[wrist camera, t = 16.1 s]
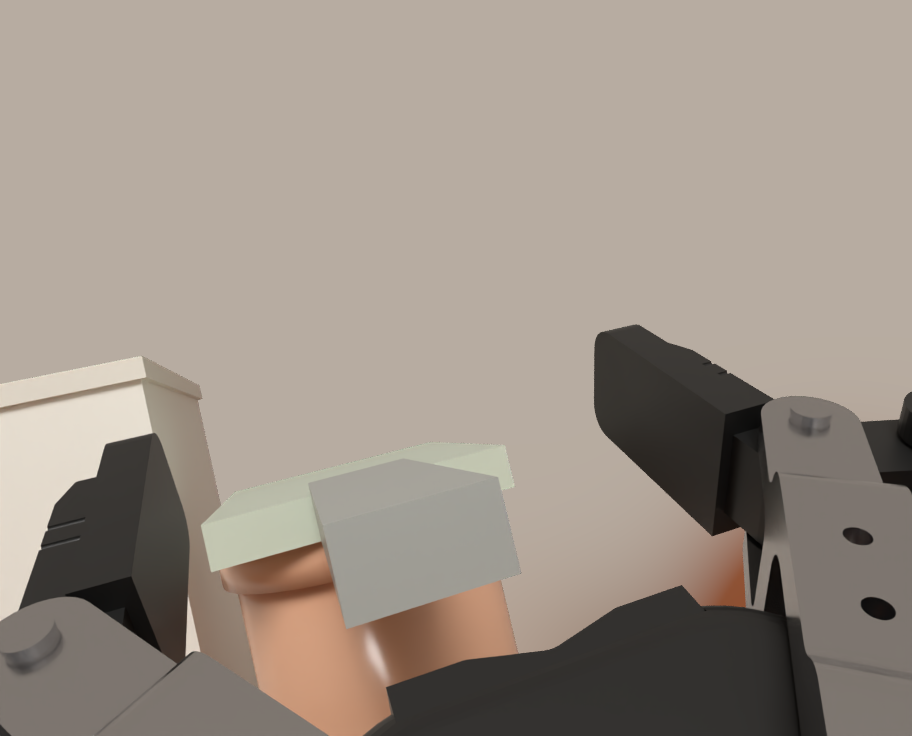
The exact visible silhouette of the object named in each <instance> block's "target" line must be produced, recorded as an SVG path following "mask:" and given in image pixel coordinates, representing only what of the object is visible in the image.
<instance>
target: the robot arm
mask: <svg viewBox="0 0 912 736" xmlns="http://www.w3.org/2000/svg"><path fill="white" fill-rule="evenodd" d="M594 357H595V358H594V360H595V361H594V370H595V371H594V408H595V413H596V417H597V420H598V423H599V426H600V428H601V429H602V431H603V432H604V434H605V435H606V436H607V437H608V438H609V439H610V440H611V441H612V442H613V443H614V444H616V445H617V446H618V447H619V448H620V449H621V450H622V451H623V452H624V453H625V454H626V455H627V456H628V457H629V458H630V459H631V460H632V461H633V462H635V463H636V464H637V465H638V466H639V467H640V468H641V469H642V470H643V471H644V472H645V473H646V474H647V475H648V476H649V477H650V478H651V479H652V480H653V481H655V482H656V483H657V484H658V485H659V486H660V487H661V488H662V489H663V490H664V491H665V492H666V493H667V494H668V495H669V496H671V498H672V499H673V500H675V501H676V502H677V503H678V504H679V505H680V506H681V507H682V508H683V509H684V510H685V511H686V512H687V513H688V514H689V515H690V516H691V517H693V518H694V519H695V520H696V521H697V522H698V523H699V524H700V525H701V526H702V527H703V528H704V529H705V530H706V531H707V532H708V533H709V534H710V535H711V536H714V535H717V534H720V533H724V532H726V531H730V530H733V529H735V528H739V527H741V528H742V529H744V530H745V535H744V542H743V562H744V578H745V595H746V608H745V607H734V606H700V605H699V604H698V603H697V602H696V600H695V599H694V598H693V597H692V596H691V595H690V594H689V593H688V592H687V590H686V589H685V588H684V587H683V586H682V585H681V586H678V587H675V588H672V589H669V590H666V591H663V592H661V593H658V594H655V595H652V596H649V597H646V598H643V599H640V600H637V601H634V602H632V603H629V604H626V605H623V606H620V607H617V608H615V609H613V610H612V611H610V612H609V613H607V614H606V615H604V616H603V617H601V618H600V619H598V620H597V621H595V622H594V623H592V624H591V625H589V626H588V627H586V628H585V629H583V630H582V631H580V632H579V633H577V634H576V635H574V636H573V637H571V638H570V639H568V640H566V641H565V642H563V643H562V644H560V645H559V646H557V647H555V648H553V649H550V650H545V651H538V652H529V653H521V654H512V655H503V656H494V657H485V658H476V659H468V660H463V661H460V662H457V663H455V664H452V665H449V666H446V667H443V668H440V669H437V670H434V671H431V672H428V673H426V674H423V675H420V676H417V677H414V678H411V679H408V680H405V681H402V682H399V683H397V684H394V685H391V686H388V687H386V691H387V696H388V701H389V706H390V711H391V715H390V716H388V717H387V718H385V719H384V720H382V721H381V722H379V723H378V724H376V725H375V726H374V727H373V728H371V729H370V730H369V731H368V732H367V733H365V734H364V735H363V736H912V392H910V393H909V394H907V395H906V397H905V399H904V403H903V407H902V411H901V415H900V419H899V420H884V421H868V422H860V420H859V418H858V417H857V416H856V415H855V414H854V413H853V412H851V411H850V410H849V409H847V408H845V407H843V406H841V405H839V404H836V403H834V402H831V401H827V400H823V399H819V398H813V397H805V396H789V397H781V398H777V399H773V398H771V397H769V396H767V395H766V394H764V393H763V392H761V391H759V390H758V389H756V388H754V387H753V386H751V385H749V384H748V383H746V382H744V381H743V380H741V379H739V378H738V377H736V376H734V375H733V374H731V373H729V374H727V371H726V370H725V369H723V368H721V367H719V366H718V365H716V364H712V363H711V361H710V360H708V359H706V358H705V357H703V356H701V355H700V354H698V353H696V352H695V351H693V350H690V349H687V348H684V347H680V346H677V345H673V344H670V343H667V342H666V341H664V340H663V339H661V338H659V337H658V336H656V335H654V334H653V333H651V332H650V331H648V330H646V329H644V328H643V327H641V326H640V325H631V326H627V327H622V328H618V329H613V330H609V331H605V332H601V333H600V334H598V336H597V337H596V341H595V353H594ZM47 528H48V531H45V534H44V537H43V540H42V543H41V550H39V552H38V554H37V557H36V560H35V563H34V566H33V569H32V572H31V575H30V578H29V581H28V583H27V586H26V589H25V592H24V595H23V598H22V601H21V604H20V607H19V610H18V611H16V612H14V613H13V614H11V615H9V616H8V617H6V618H4V619H3V620H1V621H0V736H329V735H327V734H326V733H324V732H323V731H321V730H320V729H318V728H317V727H315V726H314V725H312V724H311V723H309V722H308V721H306V720H305V719H303V718H302V717H300V716H299V715H297V714H296V713H294V712H293V711H291V710H290V709H288V708H287V707H285V706H284V705H282V704H281V703H279V702H278V701H276V700H275V699H273V698H272V697H270V696H269V695H267V694H266V693H264V692H262V691H261V690H259V689H258V688H256V687H255V686H253V685H252V684H250V683H249V682H247V681H246V680H244V679H243V678H241V677H240V676H238V675H237V674H235V673H234V672H232V671H231V670H229V669H228V668H226V667H225V666H223V665H222V664H220V663H219V662H217V661H216V660H214V659H213V658H211V657H209V656H208V655H206V654H204V653H201V652H198V651H192V652H191V653H189V654H188V655H187V656H186V632H187V606H188V579H189V553H190V541H189V532H188V526H187V521H186V517H185V513H184V510H183V506H182V503H181V500H180V497H179V494H178V491H177V488H176V486H175V483H174V480H173V477H172V474H171V471H170V468H169V465H168V462H167V459H166V456H165V453H164V450H163V447H162V444H161V442H160V439H159V437H158V436H157V434H156V433H151V434H147V435H142V436H138V437H134V438H129V439H125V440H120V441H116V442H111V443H107V444H106V445H105V447H104V450H103V454H102V458H101V461H100V465H99V469H98V472H97V476H96V477H94V478H90V479H85V480H81V481H77V482H75V483H74V484H73V485H72V486H71V487H70V489H69V490H68V491H67V492H66V493H65V494H64V495H63V496H62V497H61V498H60V499H59V500H58V501H57V502H56V504H55V505H54V508H53V511H52V514H51V517H50V520H49V522H48V525H47Z"/></svg>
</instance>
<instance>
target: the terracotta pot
mask: <svg viewBox="0 0 912 736" xmlns="http://www.w3.org/2000/svg"><path fill="white" fill-rule="evenodd" d="M219 572H220V577H221V581H222V586H223V588H224V590H225V591H227V592H229V593H234V594H238V597H239V602H240V606H241V611H242V615H243V620H244V624H245V629H246V633H247V638H248V642H249V647H250V651H251V656H252V660H253V665H254V669H255V674H256V678H257V683H258V688H259V690H261V691H262V692H264V693H266V694H267V695H269V696H270V697H272V698H273V699H275V700H276V701H278V702H279V703H281V704H282V705H284V706H285V707H287V708H288V709H290V710H291V711H293V712H294V713H296V714H297V715H299V716H300V717H302V718H303V719H305V720H306V721H308V722H309V723H311V724H312V725H314V726H315V727H317V728H318V729H320V730H321V731H323V732H324V733H326V734H327V735H329V736H363V735H364V734H365V733H367V732H368V731H369V730H370V729H371V728H373V727H374V726H375V725H376V724H378V723H379V722H381V721H382V720H384V719H385V718H387V717H388V716H390V715H391V711H390V706H389V701H388V696H387V691H386V687H388V686H391V685H394V684H397V683H399V682H402V681H405V680H408V679H411V678H414V677H417V676H420V675H423V674H426V673H428V672H431V671H434V670H437V669H440V668H443V667H446V666H449V665H452V664H455V663H457V662H460V661H463V660H468V659H476V658H485V657H494V656H503V655H512V654H518V650H517V646H516V641H515V637H514V633H513V629H512V625H511V621H510V616H509V612H508V608H507V604H506V600H505V596H504V592H503V587H502V583H501V580H499V581H496V582H493V583H490V584H487V585H484V586H481V587H477V588H474V589H471V590H468V591H465V592H462V593H459V594H455V595H452V596H449V597H446V598H443V599H440V600H437V601H433V602H430V603H427V604H424V605H421V606H418V607H415V608H411V609H408V610H405V611H402V612H399V613H396V614H393V615H390V616H386V617H383V618H380V619H377V620H374V621H371V622H368V623H364V624H361V625H358V626H355V627H352V628H349V629H346V626H345V623H344V619H343V616H342V612H341V609H340V605H339V602H338V598H337V595H336V591H335V587H334V584H333V580H332V577H331V573H330V570H329V566H328V563H327V559H326V556H325V552H324V549H323V545H322V542H317V543H314V544H310V545H306V546H303V547H299V548H296V549H292V550H289V551H285V552H282V553H278V554H275V555H271V556H267V557H264V558H260V559H257V560H253V561H250V562H246V563H243V564H239V565H236V566H232V567H229V568H225V569H221V570H219Z"/></svg>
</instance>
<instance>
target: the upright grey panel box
mask: <svg viewBox="0 0 912 736" xmlns="http://www.w3.org/2000/svg"><path fill="white" fill-rule="evenodd" d="M200 399H202V395H201V391H200V386H199V385H197V384H195V383H193V382H192V381H190V380H188V379H186V378H184V377H182V376H180V375H178V374H176V373H174V372H172V371H170V370H168V369H166V368H164V367H162V366H160V365H158V364H156V363H154V362H152V361H150V360H149V359H147V358H145V357H143V356H139V357H134V358H130V359H124V360H119V361H114V362H109V363H104V364H99V365H94V366H89V367H84V368H79V369H74V370H69V371H64V372H59V373H54V374H49V375H44V376H39V377H34V378H29V379H24V380H19V381H14V382H9V383H4V384H0V621H1V620H3V619H4V618H6V617H8V616H9V615H11V614H13V613H14V612H16V611H18V610H19V607H20V604H21V601H22V598H23V595H24V592H25V589H26V586H27V583H28V581H29V578H30V575H31V572H32V569H33V566H34V563H35V560H36V557H37V554H38V552H39V550H41V543H42V540H43V537H44V534H45V531H48V528H47V525H48V522H49V520H50V517H51V514H52V511H53V508H54V505H55V504H56V502H57V501H58V500H59V499H60V498H61V497H62V496H63V495H64V494H65V493H66V492H67V491H68V490H69V489H70V487H71V486H72V485H73V484H74V483H75V482H77V481H81V480H85V479H90V478H94V477H96V476H97V472H98V469H99V465H100V461H101V458H102V454H103V450H104V447H105V445H106V444H107V443H111V442H116V441H120V440H125V439H129V438H134V437H138V436H142V435H147V434H151V433H156V434H157V436H158V437H159V439H160V442H161V444H162V447H163V450H164V453H165V456H166V459H167V462H168V465H169V468H170V471H171V474H172V477H173V480H174V483H175V486H176V488H177V491H178V494H179V497H180V500H181V503H182V506H183V510H184V513H185V517H186V521H187V526H188V532H189V541H190V553H189V579H188V606H187V632H186V656H187V655H188V654H189V653H191V652H192V651H198V652H201V653H204V654H206V655H208V656H209V657H211V658H213V659H214V660H216V661H217V662H219V663H220V664H222V665H223V666H225V667H226V668H228V669H229V670H231V671H232V672H234V673H235V674H237V675H238V676H240V677H241V678H243V679H244V680H246V681H247V682H249V683H250V684H252V685H253V686H255V687H256V688H258V683H257V678H256V674H255V669H254V665H253V660H252V656H251V651H250V647H249V642H248V638H247V633H246V629H245V624H244V620H243V615H242V611H241V606H240V602H239V597H238V594H234V593H229V592H227V591H225V590H224V588H223V586H222V581H221V577H220V572H219V570H218V571H214V572H211V569H210V565H209V560H208V556H207V551H206V547H205V542H204V538H203V533H202V528H201V525H202V524H203V523H204V522H205V521H206V520H207V519H208V518H209V517H210V516H211V515H212V514H213V513H214V512H215V511H216V510H217V509H218V508H219V507H220V506H221V504H220V499H219V495H218V490H217V486H216V481H215V477H214V472H213V468H212V463H211V459H210V454H209V450H208V445H207V441H206V436H205V431H204V427H203V422H202V418H201V413H200V409H199V404H198V400H200ZM258 689H259V688H258Z"/></svg>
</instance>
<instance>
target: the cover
mask: <svg viewBox="0 0 912 736" xmlns="http://www.w3.org/2000/svg"><path fill="white" fill-rule="evenodd" d="M512 487H514V482H513V477H512V473H511V469H510V465H509V461H508V457H507V452H506V448H505V445H490V444H489V445H488V444H465V443H440V442H429V443H425V444H421V445H417V446H413V447H409V448H405V449H402V450H397V451H394V452H390V453H386V454H382V455H378V456H374V457H370V458H366V459H362V460H359V461H354V462H351V463H346V464H343V465H339V466H335V467H331V468H327V469H323V470H319V471H315V472H312V473H307V474H303V475H300V476H296V477H292V478H288V479H284V480H280V481H276V482H272V483H268V484H264V485H260V486H256V487H252V488H248V489H245V490H241V491H237V492H235V493H233V494H232V495H231V496H230V497H229V499H227V501H225V502H224V503H223V504H222V505H221V506H220V507H219V508H218V509H217V510H216V511H215V512H214V513H213V514H212V515H211V516H210V517H209V518H208V519H207V520H206V521H205V522H204V523H203V524H202V525H201V528H202V533H203V538H204V542H205V547H206V551H207V556H208V560H209V565H210V569H211V572H214V571H218V570H221V569H225V568H229V567H232V566H236V565H239V564H243V563H246V562H250V561H253V560H257V559H260V558H264V557H267V556H271V555H275V554H278V553H282V552H285V551H289V550H292V549H296V548H299V547H303V546H306V545H310V544H314V543H317V542H322V545H323V549H324V552H325V556H326V559H327V563H328V566H329V570H330V573H331V577H332V580H333V584H334V587H335V591H336V595H337V598H338V602H339V605H340V609H341V612H342V616H343V619H344V623H345V626H346V629H349V628H352V627H355V626H358V625H361V624H364V623H368V622H371V621H374V620H377V619H380V618H383V617H386V616H390V615H393V614H396V613H399V612H402V611H405V610H408V609H411V608H415V607H418V606H421V605H424V604H427V603H430V602H433V601H437V600H440V599H443V598H446V597H449V596H452V595H455V594H459V593H462V592H465V591H468V590H471V589H474V588H477V587H481V586H484V585H487V584H490V583H493V582H496V581H499V580H502V579H506V578H508V577H512V576H515V575H518V574H521V570H520V566H519V562H518V558H517V553H516V549H515V545H514V541H513V537H512V533H511V529H510V524H509V520H508V516H507V512H506V508H505V504H504V500H503V496H502V491H501V490H505V489H508V488H512Z"/></svg>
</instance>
